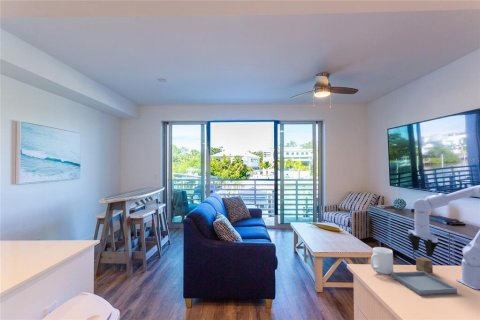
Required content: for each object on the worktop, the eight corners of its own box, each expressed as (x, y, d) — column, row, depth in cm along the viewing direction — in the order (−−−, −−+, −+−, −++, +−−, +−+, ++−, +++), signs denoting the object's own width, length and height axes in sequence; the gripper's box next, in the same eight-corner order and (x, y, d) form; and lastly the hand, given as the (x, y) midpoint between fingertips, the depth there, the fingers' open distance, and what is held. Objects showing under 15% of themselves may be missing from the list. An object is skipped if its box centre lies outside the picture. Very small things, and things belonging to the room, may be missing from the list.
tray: (423, 275, 113) (423, 271, 113) (457, 293, 97) (456, 288, 97) (391, 277, 112) (391, 272, 112) (419, 295, 96) (419, 290, 96)
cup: (397, 272, 116) (396, 251, 116) (379, 277, 111) (378, 255, 112) (381, 266, 124) (381, 246, 124) (363, 270, 119) (363, 249, 119)
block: (424, 269, 120) (424, 257, 120) (432, 273, 115) (432, 260, 115) (416, 269, 119) (415, 257, 119) (423, 273, 115) (423, 261, 115)
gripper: (402, 221, 123) (403, 248, 122) (427, 228, 108) (428, 259, 108) (415, 220, 123) (415, 247, 123) (441, 228, 109) (442, 258, 109)
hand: (422, 253), depth 115 cm, fingers open, 7 cm apart
